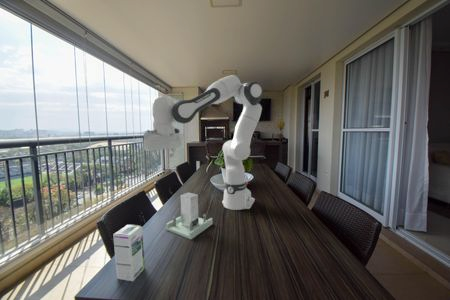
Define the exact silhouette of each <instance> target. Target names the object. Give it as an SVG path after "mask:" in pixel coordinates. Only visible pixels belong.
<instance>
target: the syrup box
mask: <svg viewBox="0 0 450 300" xmlns="http://www.w3.org/2000/svg"><path fill="white" fill-rule="evenodd" d="M113 245H114V246H113V247H114V259H115V260H114V261H115V269H116V271H115V272H116V278H117V280H122V281H128V282H134V281H135V280H136V278H137V277H138V276H139V275H140V274H141V273H143V271H144V269H145V268H146V263H145V262H146V261H145V249H144V235H143V226H141V225H138V224H126V225H125V226H124V227H122V228H120V229H119V230H118V231H116V232H115V233H113Z"/></svg>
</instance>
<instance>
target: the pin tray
mask: <svg viewBox="0 0 450 300" xmlns="http://www.w3.org/2000/svg"><path fill="white" fill-rule="evenodd" d="M202 217H203V218H202ZM202 217H199V216H198V220H199V224H197V225H196V226H194V227H193V223H192V222H190V228H189V227H186V226H183V225H181V215H180V216H178V217H176V216H173V217H172V220H171V221H169V222H167V223H165V229H166V231H169V232H171V233H174V234H175V235H176V234H177V235H179V236H182V237H184V238H186V239H189V240H193V239H194V238H195V237H197V236H199V234H200V233H202V232H204V231H206V229H208V228H209V227H211V226H212V225H213V223H214V222H213V217H210V218H208V219H207V215H206V214H205V213H204V214H203V215H202Z"/></svg>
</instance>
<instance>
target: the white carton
mask: <svg viewBox="0 0 450 300" xmlns="http://www.w3.org/2000/svg"><path fill="white" fill-rule="evenodd" d="M180 216H181V225H183V226H186V227H189V228H190V222H192V223H193V227H194V226H196V225H197V224H199V220H198V217H199V195H198V194H197V193H193V192H185V193H183V194H181V195H180Z"/></svg>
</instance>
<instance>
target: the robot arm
mask: <svg viewBox="0 0 450 300" xmlns="http://www.w3.org/2000/svg"><path fill="white" fill-rule="evenodd" d="M263 90H264V89H263V87H262V84H260V82H257V81H252V80H251V81H248V82H244V83H242V82H241V81H240V79H239V77H238V76H237V75H234V74H231V75H227V76H225V77H222V78H218V80H216V81H215V82H213V83H211V84H210V85H209V86H208V87H207V88H206V90H204V92H202V93H201V94H199V95H196V96H195V97H193V98H191V99H185V100H184V99H182V100H178V101H176V100H173V98H171V97H170V96H167V95H160V96H156V97H155V98H154V99H153V101H152V109H151V110H152V111H151V112H152V117H153V121H152V127H153V128H152V130H149V129H148V130H146V131H144V133H143V144H142V145H143V150H144V151H147V152H150V153H151V154H152V157H153V160H155V161H157V160H159V157H160V156H159V155H157V151H160V150H170V153H169V154H168V156H169V158H174V157H175V156H174V155H175V152H176V149H179V148H181V146H182V139H181V138H182V137H181V135H180V134H181V130H180V129H179V128H177V127H175V126H173V123H176V124H188V123H190V122H192V121H193V119H194V118H195V117H196V115H197V114H198V113H199V112H200V111H202V110H204V109H206V108H207V107H208V106H210V105H218V104H220V103H221V104H222V103H224V102H225V101H227V100H228V99H229V100H230V99H231V98H232V100H233V102H234V103H236V104H238V105H242V112H241V113H240V115H239V117H238V119H237V122H236V125H235V127H234V133H233V138H232V139H229V140H227V141H225V142H224V143H223V145H222V148H221V149H222V152H223V161H224V165H225V183H224V185H225V188H224V190H223V200H222V201H221V203H222V205H223V207H224V208H226V209H227V210H231V211H240V210H241V211H242V210H250V209H251V208H252V206H253V204H254V203H255V200H256V199H255V198H254V197H252V192H251V190H250V189H248V188H247V185H248V183H249V182H248V181H247V180H246V179H245V178H246V176H245V175H246V172H245V171H246V170H245V167H244V165H243V161H244V160H247V159H248V158H249V157H250V155H251V147H250V146H251V142H252V138H253V134H254V132H255V129H256V128H257V125H258V123H259V120H260V118H261V115H262V111H263V107H262V105H261V104H260V103H261V102H262V96H263Z"/></svg>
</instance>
